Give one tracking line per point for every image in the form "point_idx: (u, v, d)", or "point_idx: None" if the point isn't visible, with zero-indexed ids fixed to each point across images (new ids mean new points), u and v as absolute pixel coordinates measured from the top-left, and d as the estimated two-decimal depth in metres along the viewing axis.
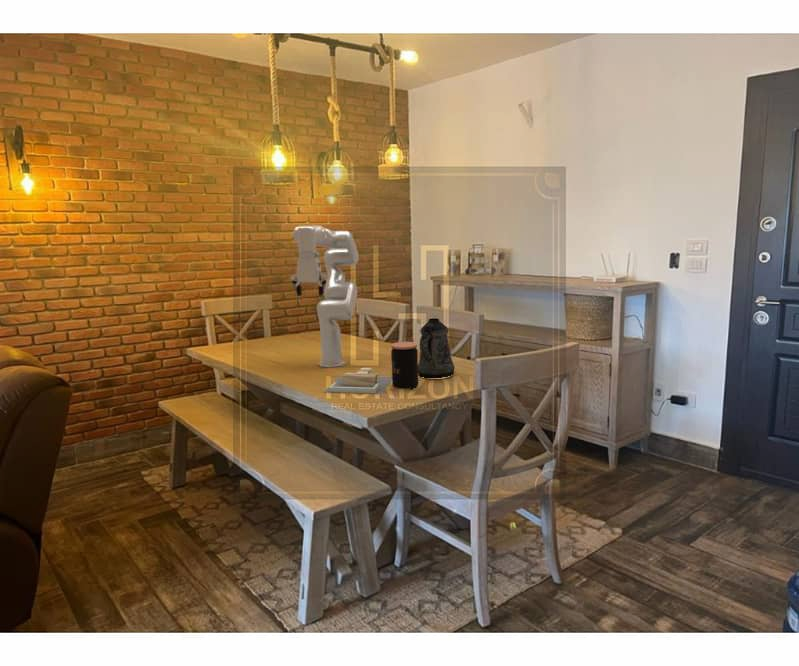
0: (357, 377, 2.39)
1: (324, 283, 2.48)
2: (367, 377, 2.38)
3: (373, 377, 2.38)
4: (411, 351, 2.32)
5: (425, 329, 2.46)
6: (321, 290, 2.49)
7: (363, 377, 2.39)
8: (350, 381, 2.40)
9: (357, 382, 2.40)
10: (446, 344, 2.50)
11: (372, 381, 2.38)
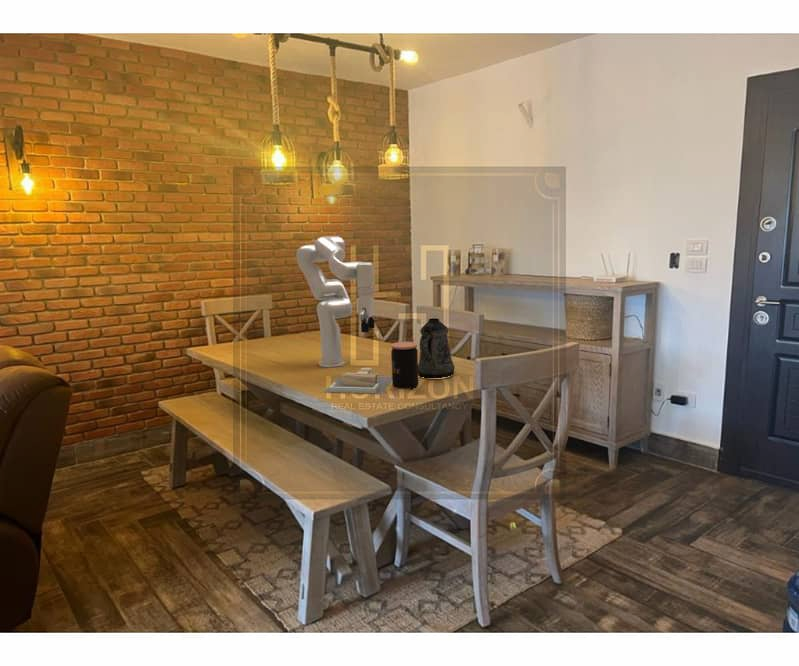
0: (357, 377, 2.39)
1: None
2: (367, 377, 2.38)
3: (373, 377, 2.38)
4: (411, 351, 2.32)
5: (425, 329, 2.46)
6: None
7: (363, 377, 2.39)
8: (350, 381, 2.40)
9: (357, 382, 2.40)
10: (446, 344, 2.50)
11: (372, 381, 2.38)
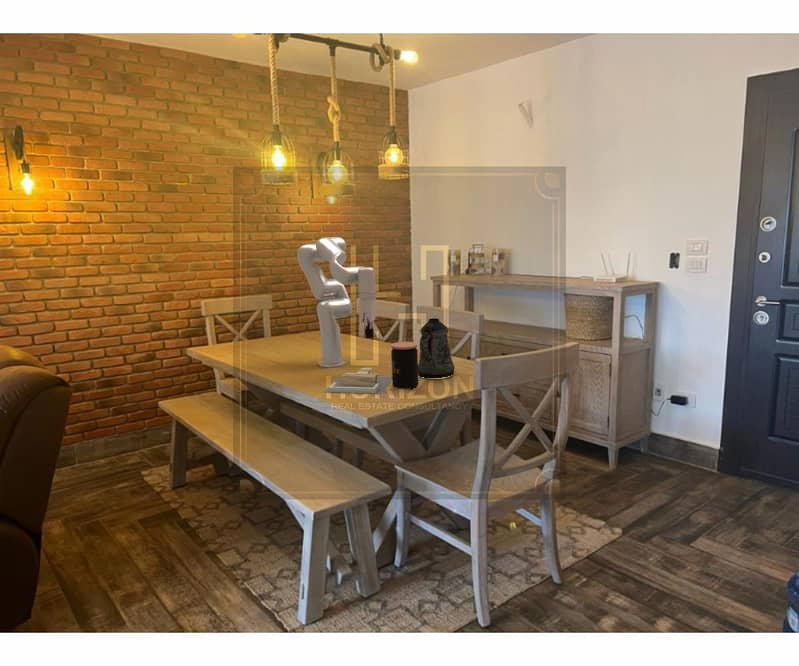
0: (357, 377, 2.39)
1: None
2: (367, 377, 2.38)
3: (373, 377, 2.38)
4: (411, 351, 2.32)
5: (425, 329, 2.46)
6: None
7: (363, 377, 2.39)
8: (350, 381, 2.40)
9: (357, 382, 2.40)
10: (446, 344, 2.50)
11: (372, 381, 2.38)
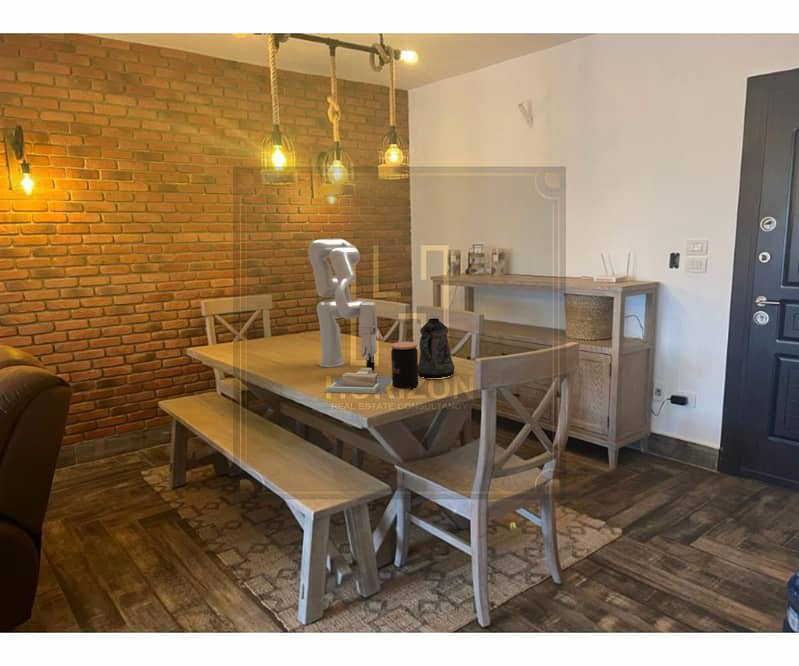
0: (357, 377, 2.39)
1: None
2: (367, 377, 2.38)
3: (373, 377, 2.38)
4: (411, 351, 2.32)
5: (425, 329, 2.46)
6: None
7: (363, 377, 2.39)
8: (350, 381, 2.40)
9: (357, 382, 2.40)
10: (446, 344, 2.50)
11: (372, 381, 2.38)
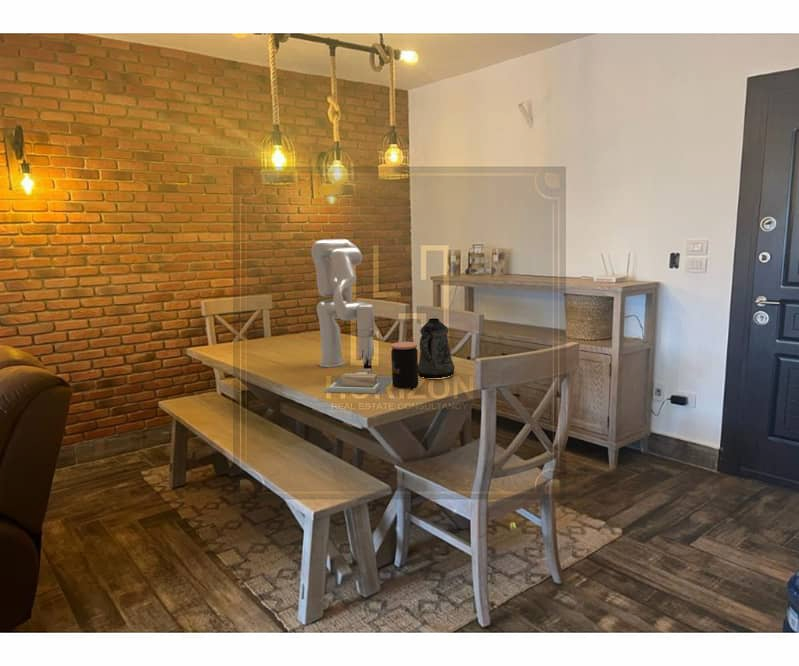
0: (356, 378, 2.38)
1: None
2: (367, 378, 2.38)
3: (373, 378, 2.37)
4: (411, 351, 2.32)
5: (425, 329, 2.46)
6: None
7: (362, 378, 2.38)
8: (349, 381, 2.39)
9: (357, 383, 2.39)
10: (446, 344, 2.50)
11: (372, 382, 2.37)
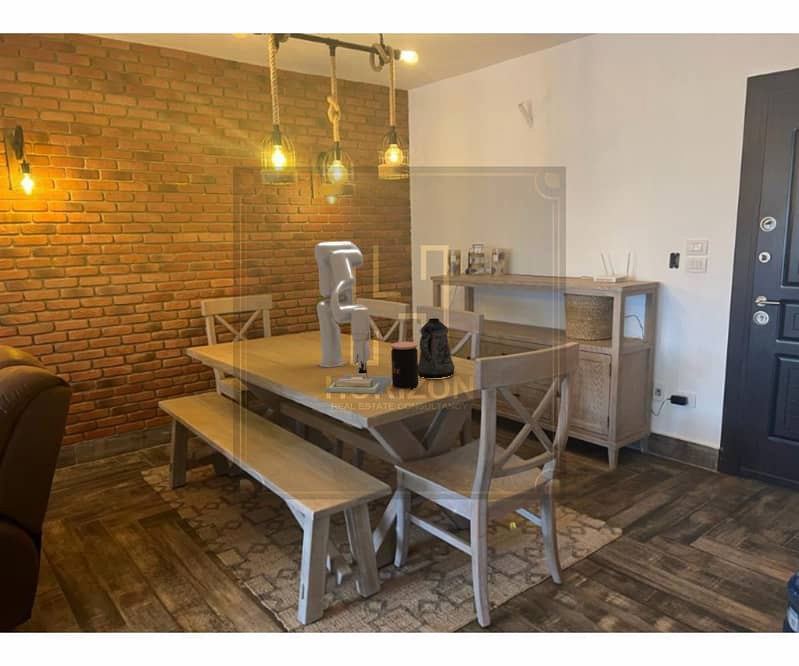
0: (351, 383, 2.30)
1: None
2: (362, 383, 2.30)
3: (368, 383, 2.29)
4: (411, 351, 2.32)
5: (425, 329, 2.46)
6: None
7: (358, 383, 2.30)
8: None
9: None
10: (446, 344, 2.50)
11: (367, 387, 2.30)
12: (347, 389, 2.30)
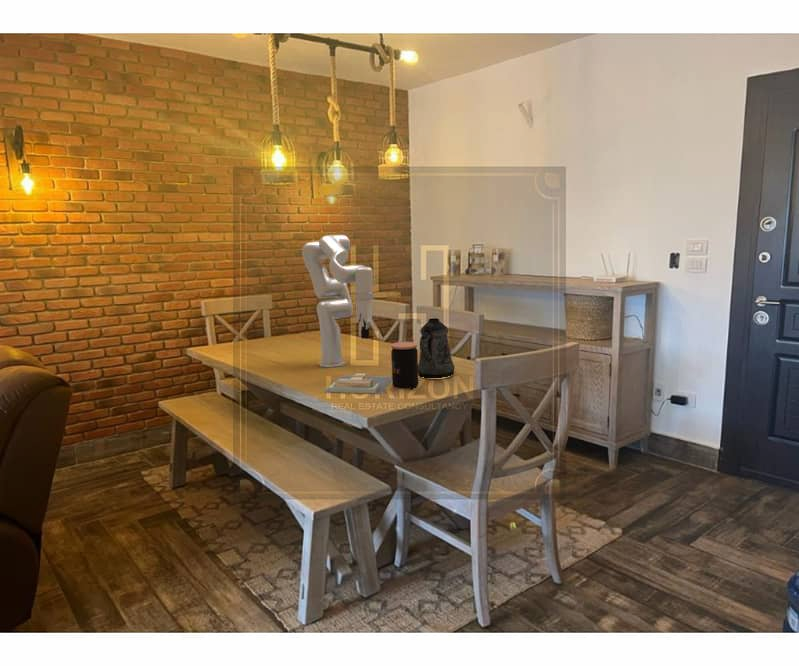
0: (351, 383, 2.30)
1: None
2: (362, 383, 2.29)
3: (368, 383, 2.29)
4: (411, 351, 2.32)
5: (425, 329, 2.46)
6: None
7: (357, 383, 2.30)
8: None
9: None
10: (446, 344, 2.50)
11: (367, 387, 2.29)
12: (347, 389, 2.30)
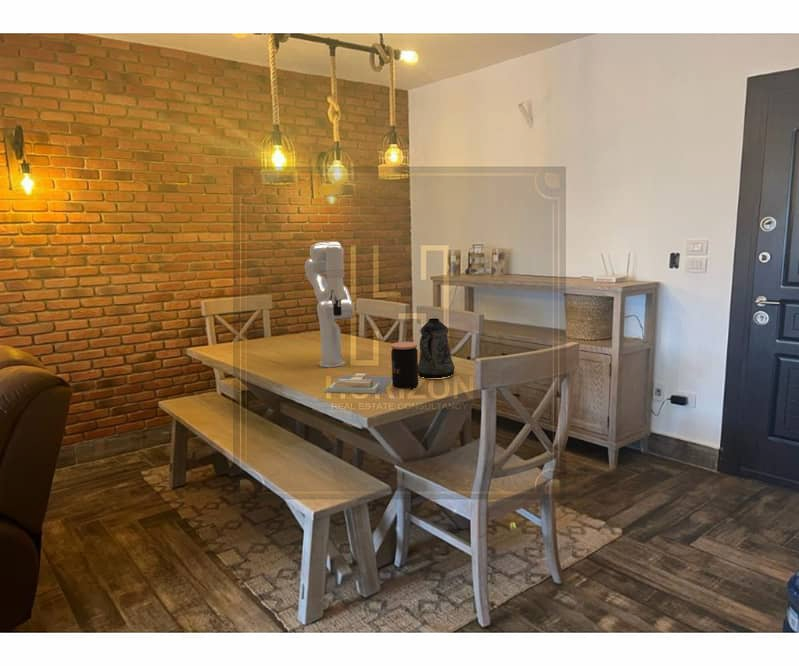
0: (351, 383, 2.30)
1: None
2: (362, 383, 2.29)
3: (368, 383, 2.29)
4: (411, 351, 2.32)
5: (425, 329, 2.46)
6: None
7: (357, 383, 2.30)
8: None
9: None
10: (446, 344, 2.50)
11: (367, 387, 2.29)
12: (347, 389, 2.30)
